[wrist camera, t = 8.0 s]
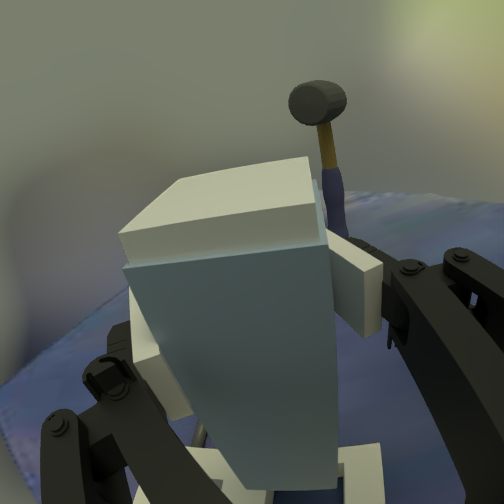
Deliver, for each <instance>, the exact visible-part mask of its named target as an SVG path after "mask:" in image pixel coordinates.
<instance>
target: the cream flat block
mask: <svg viewBox="0 0 504 504" xmlns="http://www.w3.org/2000/svg"><path fill="white" fill-rule="evenodd" d="M206 434H207V431H206V430H205V428H204V427H203V425H202V423H201V422H200V420H199V419H198V423H197V426H196V430H195V433H194V437H193V440H192V444H191V447H186V446H185V447H186V448H187V450H188V451H189V452H190V454H191V455H192V456H193V457H194V459H195V460H196V461H197V462H198V464H199V465H200V466H201V467H202V469H203V470H204V471H205V472H206V473H207V475H208V476H209V477H210V478H211V479H212V481H213V482H214V483H215V484H216V485H217V486H218V488H219V489H220V490H221V491H222V492H223V493H224V494H225V495H226V497H227V498H228V499H229V500H230V501H231V502H232V503H233V504H273V497H274V491H269V490H246V489H245V487H244V486H243V484H242V483H241V482H240V480H239V479H238V478H237V476H236V475H235V473H234V472H233V470H232V469H231V468H230V466H229V465H228V463H227V462H226V460H225V459H224V457H223V456H222V454H221V453H220V451H219V450H218V449H207V448H203V446H204V442H205V438H206ZM337 477H343V504H385V494H384V481H383V469H382V459H381V449H380V443H374V444H367V445H359V446H350V447H341V448H338V475H337ZM133 504H150V502H149V501H148V499H147V497H146V496H145V494H144V492H143V491H142V489H141V487H140V486H139V487H138V490H137V493H136V496H135V498H134V501H133Z"/></svg>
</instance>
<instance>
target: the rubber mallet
mask: <svg viewBox="0 0 504 504" xmlns="http://www.w3.org/2000/svg"><path fill="white" fill-rule="evenodd" d="M288 102H289V109H290V112H291V114H292V115H293V117H294V118H295V119H296V120H297V121H299V122H300V123H302V124H305V125H310V126H315V125H317V132H318V138H319V145H320V152H321V159H322V166H323V169H322V189H323V196H324V200H325V204H326V209H327V217H328V230H329V231H331V232H333V233H335V234H336V235H338V236H340V237H341V238H343V239H347V238H348V236H349V234H348V230H347V227H346V222H345V211H344V188H343V182H342V177H341V173H340V170H339V168H338V167H337V161H336V154H335V147H334V142H333V135H332V129H331V123H330V121H332V120H333V119H335V118H336V117H338V116H339V115H340V114H341V113H342V112H343V111H344V109H345V107H346V104H347V98H346V95H345V92H344V91H343V89H342V88H341V87H340V86H339V85H337V84H335V83H332V82H329V81H322V80H315V81H310V82H307V83H303V84H300V85H298V86H297V87H295V88H294V89H293V91H292V92H291V94H290V97H289V101H288Z"/></svg>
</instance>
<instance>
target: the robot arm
mask: <svg viewBox="0 0 504 504" xmlns="http://www.w3.org/2000/svg"><path fill="white" fill-rule="evenodd" d="M326 233H327V239H328V245H329V255H330V265H331V276H332V288H333V300H334V311H335V312H336V313H337V314H338V315H339V316H340V317H342V318H343V319H344V320H345V321H346V322H347V323H348V324H349V325H350V326H351V327H352V328H353V329H354V330H355V331H356V332H357V333H358V334H359V335H361V336H362V337H363V338H364V339H365V338H367V337H369V336H370V335H372V334H374V333H376V332H378V331H379V330H381V323H382V317H383V318H385V319H386V320H387V321H388V322H389V329H388V340H387V347H388V349H391V344H392V339H393V341H394V343H395V347H397V348H398V350H399V352H400V354H401V356H402V358H403V359H404V361H405V363H406V365H407V367H408V369H409V371H410V373H411V375H412V376H413V378H414V380H415V382H416V384H417V386H418V388H419V390H420V392H421V394H422V396H423V398H424V400H425V402H426V404H427V406H428V408H429V410H430V412H431V414H432V416H433V418H434V421H435V423H436V425H437V427H438V429H439V431H440V433H441V435H442V438H443V440H444V442H445V444H446V446H447V449H448V451H449V453H450V455H451V458H452V460H453V462H454V465H455V467H456V469H457V472H458V474H459V476H460V479H461V481H462V484H463V486H464V489H465V492H466V499H465V504H504V270H503V269H502V268H500V267H498V266H497V265H495V264H493V263H492V262H490V261H488V260H486V259H485V258H483V257H481V256H479V255H478V254H476V253H474V252H472V251H470V250H468V249H464V248H461V247H458V248H457V247H456V248H452V249H448V250H447V251H446V252H445V254H444V259H443V263H442V264H438V265H434V266H430V267H428V265H426V264H425V263H423V262H421V261H418V260H413V259H406V260H401V261H397V260H396V259H394V258H392V257H391V256H389V255H387V254H386V253H384V252H382V251H380V250H377V248H375V247H373V246H370V244H368V243H366V242H365V241H363V240H360V239H356V238H352V237H349V238H347V239H343V238H341V237H340V236H338V235H336V234H335V233H333V232H331V231H329V230H328V229H326ZM472 292H473V293H475V294H476V295H478V299H477V303H476V306H473V305H471V304H470V300H471V295H472ZM129 298H130V320H129V321H126V322H123V323H120V324H117V325H114V326H112V328H111V330H110V332H109V334H108V336H107V347H108V348H107V354H105V355H102V356H100V357H97V358H96V359H95V360H93V361H92V362H90V364H89V365H88V366H87V367H86V368H85V370H84V373H83V375H82V379H83V383H84V385H85V386H86V387H87V389H88V390H89V391H90V393H91V394H92V395H93V396H94V398H95V399H96V400H97V401H98V402H97V403H96V404H95V405H94V406H92V407H91V408H89V409H88V410H86V411H84V412H83V413H81V414H79V415H76V414H75V413H74V412H73V411H72V410H69V409H59V410H57V411H55V412H53V413H52V414H50V415H49V416H48V417H47V418H46V420H45V422H44V423H43V425H42V430H41V447H40V477H41V500H42V504H133V502H132V498H131V494H130V490H129V486H128V482H127V478H126V473H125V469H124V467H126V466H129V468H130V470H131V472H132V473H133V475H134V477H135V479H136V480H137V482H138V484H139V486H140V487H141V489H142V491H143V492H144V494H145V496H146V497H147V499H148V501H149V502H150V504H233V503H232V502H231V501H230V500H229V499H228V498H227V497H226V495H225V494H224V493H223V492H222V491H221V490H220V489H219V488H218V486H217V485H216V484H215V483H214V482H213V481H212V479H211V478H210V477H209V476H208V475H207V473H206V472H205V471H204V470H203V469H202V467H201V466H200V465H199V464H198V462H197V461H196V460H195V459H194V457H193V456H192V455H191V454H190V452H189V451H188V450H187V448H186V447H185V446H184V445H183V443H182V442H181V441H180V439H179V438H178V437H177V435H176V434H175V432H174V431H173V430H172V428H171V427H170V426H169V424H168V421H167V416H166V414H167V415H168V417H169V418H170V420H171V421H174V420H177V419H181V418H184V417H187V416H190V415H193V414H194V412H193V409H192V406H191V403H190V402H189V400H188V398H187V396H186V395H185V393H184V391H183V389H182V388H181V386H180V384H179V382H178V381H177V379H176V377H175V375H174V373H173V372H172V370H171V368H170V366H169V364H168V362H167V360H166V358H165V357H164V355H163V353H162V351H161V349H160V347H159V345H158V344H157V343H156V341H155V339H154V337H153V335H152V333H151V331H150V329H149V327H148V325H147V323H146V321H145V319H144V317H143V315H142V313H141V310H140V308H139V306H138V304H137V302H136V300H135V297H134V295H133V293H132V291H131V289H130V286H129Z"/></svg>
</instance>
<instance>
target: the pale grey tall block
mask: <svg viewBox="0 0 504 504" xmlns="http://www.w3.org/2000/svg"><path fill="white" fill-rule="evenodd" d="M118 235H119V238H120V241H121V243H122V246H123V248H124V251H125V254H126V256H127V259H128V262H127V264H126V265H125V266H124V267H123V268H122V270H123V272H124V275H125V277H126V279H127V281H128V284H129V286H130V289H131V291H132V293H133V295H134V297H135V300H136V302H137V304H138V306H139V308H140V310H141V313H142V315H143V317H144V319H145V321H146V323H147V325H148V327H149V329H150V331H151V333H152V335H153V337H154V339H155V341H156V343H157V344H158V345H159V347H160V349H161V351H162V353H163V355H164V357H165V358H166V360H167V362H168V364H169V366H170V368H171V370H172V372H173V373H174V375H175V377H176V379H177V381H178V382H179V384H180V386H181V388H182V389H183V391H184V393H185V395H186V396H187V398H188V400H189V402H190V403H191V406H192V408H193V410H194V412H195V413H196V415H197V417H198V418H199V420H200V422H201V423H202V425H203V427H204V428H205V430H206V431H207V433H208V434H209V436H210V438H211V439H212V441H213V442H214V444H215V445H216V447H217V448H218V450H219V451H220V453H221V454H222V456H223V457H224V459H225V460H226V462H227V463H228V465H229V466H230V468H231V469H232V470H233V472H234V473H235V475H236V476H237V478H238V479H239V480H240V482H241V483H242V484H243V486H244V487H245V489H246V490H269V491H300V490H323V489H337V475H338V375H337V350H336V331H335V315H334V300H333V288H332V276H331V265H330V255H329V245H328V239H327V233H326V228H325V222H324V217H323V212H322V207H321V201H320V196H319V191H318V187H317V182H316V179H314V180H311V174H310V168H309V162H308V157H300V158H293V159H286V160H279V161H273V162H266V163H261V164H254V165H248V166H243V167H237V168H232V169H226V170H221V171H216V172H210V173H205V174H201V175H195V176H191V177H186V178H181V179H179V180H177V181H176V182H175V183H174V184H173V185H172V186H170V187H169V188H168V189H167V190H166V191H164V192H163V193H162V194H161V195H160V196H159V197H158V198H157V199H155V200H154V201H153V202H152V203H151V204H150V205H148V206H147V207H146V208H145V209H144V210H143V211H142V212H141V213H139V214H138V215H137V216H136V217H135V218H134V219H133V220H132V221H131V222H130V223H129V224H127V225H126V226H125V227H124V228H123V229H122V230H121V231H120V232H119V233H118Z"/></svg>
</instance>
